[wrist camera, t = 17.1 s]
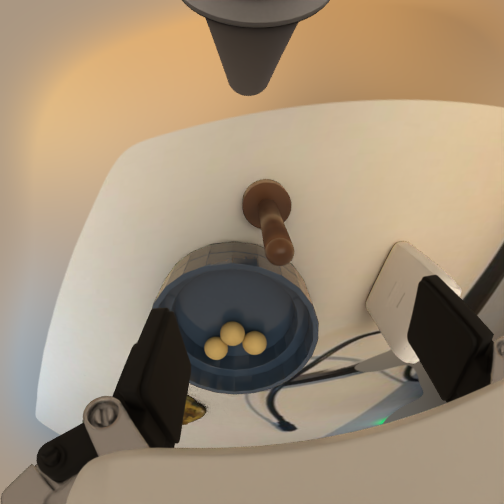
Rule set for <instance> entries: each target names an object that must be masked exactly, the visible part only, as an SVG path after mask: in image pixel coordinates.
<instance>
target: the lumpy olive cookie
mask: <svg viewBox="0 0 504 504" xmlns="http://www.w3.org/2000/svg"><path fill="white" fill-rule="evenodd" d="M205 413H206V408H205V407H202V406H201V405H200V404H198V403H196V402H195V400H194V399H193V398H191V397H189V396H187V399H186V404H185V410H184V417H183V423H182V425H186V424H188V423H190V422H193V421H195V420H197V419H200V418H201V417H203V416H204V415H205Z"/></svg>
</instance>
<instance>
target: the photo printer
mask: <svg viewBox="0 0 504 504" xmlns="http://www.w3.org/2000/svg"><path fill="white" fill-rule="evenodd" d="M430 275H438V276H439V277H440V278H441V279H442V280H443V281H444V282H445V283H446V284H447V285H448V286H449V287H450V288H451V289H452V290H453V291H454V292H455V293H456V294H457V295H458V296H459V297H460V295H461V287H460V286H459V285H458V284H457V283H456V282H455V280H454V279H453V278H452V277H451V276H450V275H449V274H448V273H447V272H445V271H444V270H443V269H442V268H441V267H439V266H438V265H437V264H436V263H435V262H433V261H432V260H431V259H430V258H428V257H427V256H426V255H425V254H423V253H422V252H421V251H419V250H418V249H417V248H416V247H414V246H413V245H412V244H410V243H409V242H406V241H401V242H398V243H396V244H395V245H394V246H393V248H392V250H391V252H390V254H389V256H388V258H387V259H386V261H385V263H384V265H383V267H382V270H381V272H380V274H379V276H378V278H377V280H376V282H375V284H374V286H373V288H372V290H371V292H370V294H369V296H368V299H367V301H366V308H367V310H368V312H369V313H370V315H371V317H372V318H373V320H374V322H375V323H376V325H377V326H378V328H379V330H380V331H381V333H382V335H383V336H384V338H385V340H386V341H387V343H388V345H389V346H390V348H391V350H392V351H393V353H394V354H395V355H396V356H397V357H398V358H399V359H401V360H402V361H404V362H406V363H413V364H415V363H416V362H418V361H419V359H418V357H417V355H416V354H415V352H414V350H413V349H412V347H411V346H410V344H409V342H408V340H407V332H408V328H409V324H410V320H411V316H412V312H413V307H414V303H415V298H416V293H417V288H418V283H419V282H420V281H421V280H422V278H423V277H424V276H430Z"/></svg>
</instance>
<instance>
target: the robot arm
mask: <svg viewBox="0 0 504 504" xmlns="http://www.w3.org/2000/svg"><path fill="white" fill-rule="evenodd" d="M493 335H494V334H493V333H492V332H491V331H490V329H489V328H488V327H487V326H486V325H485V324H484V323H483V322H482V321H481V319H480V318H479V317H478V316H477V315H476V314H475V313H474V312H473V311H472V310H471V309H470V308H469V307H468V305H467V304H466V303H465V302H464V301H463V300H462V299H461V298H460V297H459V296H458V295H457V294H456V293H455V292H454V291H453V290H452V289H451V288H450V287H449V286H448V285H447V284H446V283H445V282H444V281H443V280H442V279H441V278H440V277H439V276H438V275H430V276H424V277H423V278H422V280H421V281H420V282H419V283H418V288H417V293H416V298H415V303H414V307H413V312H412V316H411V320H410V324H409V328H408V332H407V340H408V342H409V344H410V346H411V347H412V349H413V350H414V352H415V354H416V355H417V357H418V359H419V360H420V362H421V363H422V365H423V367H424V369H425V371H426V372H427V374H428V376H429V377H430V379H431V381H432V383H433V384H434V386H435V388H436V390H437V392H438V393H439V395H440V397H441V399H442V400H445V401H446V402H447V403H446V404H443V405H441V406H438V407H435V408H433V409H430V410H427V411H424V412H421V413H418V414H415V415H412V416H409V417H406V418H403V419H400V420H396V421H393V422H390V423H386V424H383V425H379V426H375V427H371V428H367V429H363V430H359V431H355V432H350V433H346V434H341V435H336V436H331V437H325V438H319V439H313V440H307V441H300V442H293V443H284V444H275V445H265V446H251V447H231V448H174V445H175V443H179V441H180V435H181V429H182V423H183V417H184V410H185V404H186V399H187V393H188V387H189V381H190V376H191V363H190V360H189V357H188V354H187V351H186V348H185V345H184V342H183V339H182V336H181V333H180V329H179V326H178V323H177V320H176V317H175V314H174V312H173V311H169V309H168V308H153V309H152V310H151V312H150V314H149V317H148V319H147V321H146V324H145V326H144V328H143V331H142V333H141V335H140V338H139V340H138V342H137V343H136V344H134V345H133V347H132V349H131V352H130V354H129V356H128V359H127V361H126V364H125V366H124V369H123V371H122V374H121V376H120V379H119V381H118V384H117V386H116V389H115V391H114V394H113V397H111V396H102V397H99V398H96V399H94V400H93V401H91V402H90V403H89V404H88V405H87V406H86V408H85V410H84V413H83V421H84V423H82V424H80V425H78V426H77V427H75V428H73V429H71V430H69V431H68V432H66V433H64V434H62V435H60V436H58V437H56V438H55V439H53V440H51V441H49V442H47V443H46V444H44V445H43V446H42V447H41V448H40V449H39V452H38V454H37V464H36V465H35V466H34V465H33V464H31V465H30V466H29V467H28V468H27V469H26V470H25V471H24V472H23V473H22V474H20V475H19V476H18V477H17V478H16V479H15V480H14V481H13V482H12V483H11V484H10V485H9V486H8V487H7V488H6V489H5V490H4V491H3V493H2V496H1V504H504V337H499V338H498V339H496V341H495V342H493V341H492V338H493Z"/></svg>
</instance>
